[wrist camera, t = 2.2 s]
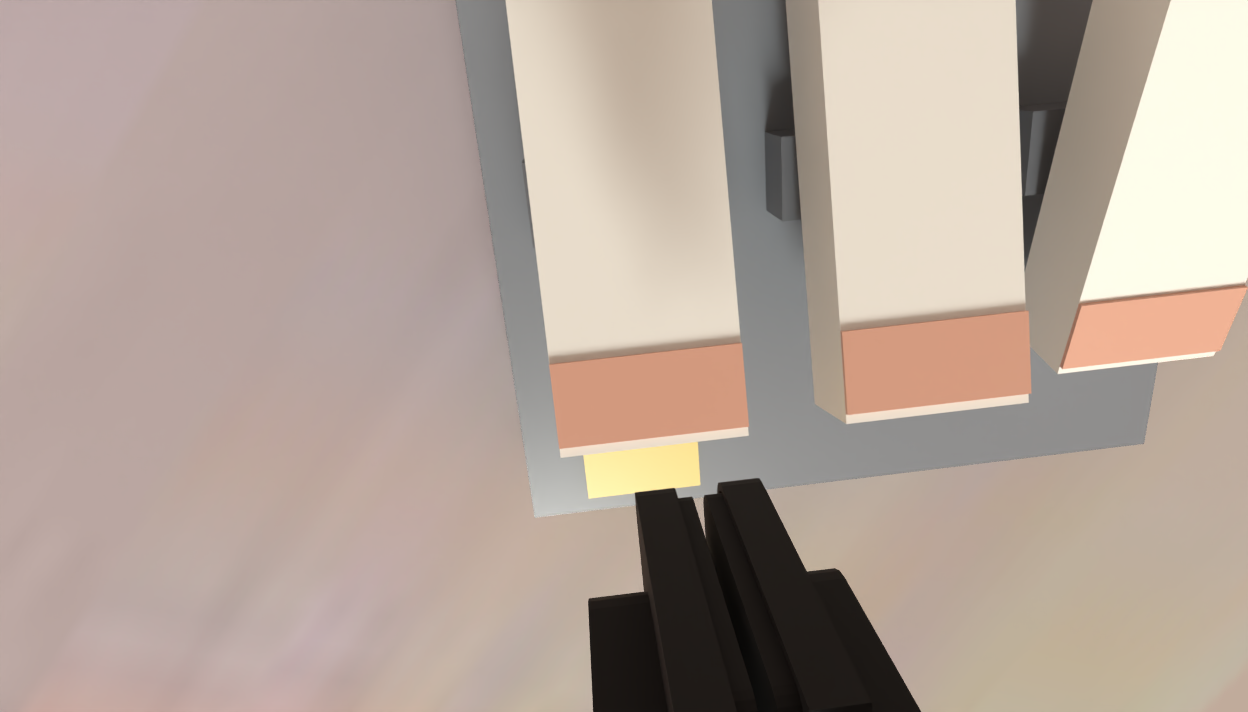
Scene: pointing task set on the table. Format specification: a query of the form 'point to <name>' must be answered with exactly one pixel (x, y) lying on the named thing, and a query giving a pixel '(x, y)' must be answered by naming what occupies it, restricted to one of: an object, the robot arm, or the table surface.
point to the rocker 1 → (630, 220)
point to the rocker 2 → (910, 204)
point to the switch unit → (782, 288)
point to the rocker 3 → (1146, 190)
